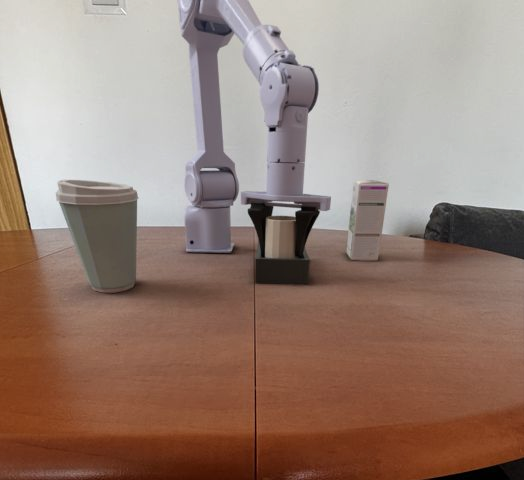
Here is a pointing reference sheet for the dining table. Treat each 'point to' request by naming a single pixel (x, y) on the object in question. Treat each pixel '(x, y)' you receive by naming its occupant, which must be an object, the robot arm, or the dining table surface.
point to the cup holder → (281, 269)
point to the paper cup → (280, 237)
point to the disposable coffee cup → (102, 230)
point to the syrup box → (366, 219)
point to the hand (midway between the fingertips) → (282, 253)
